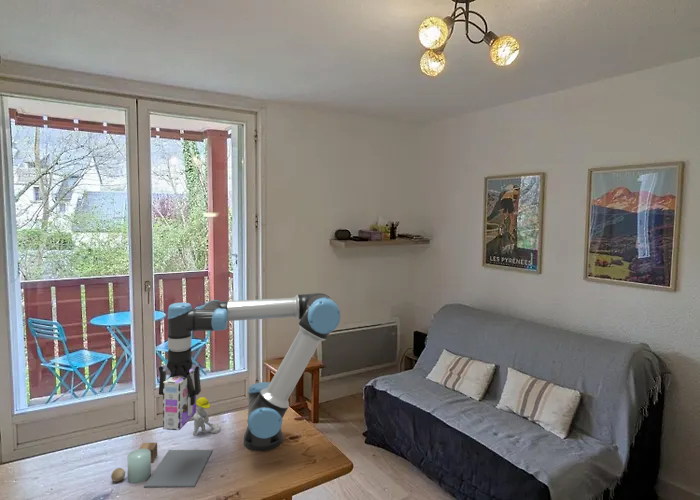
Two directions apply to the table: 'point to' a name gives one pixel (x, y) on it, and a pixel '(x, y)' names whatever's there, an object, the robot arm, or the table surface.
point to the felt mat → (179, 469)
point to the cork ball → (118, 474)
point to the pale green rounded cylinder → (139, 465)
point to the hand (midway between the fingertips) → (180, 413)
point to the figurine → (200, 420)
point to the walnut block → (151, 447)
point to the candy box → (176, 402)
